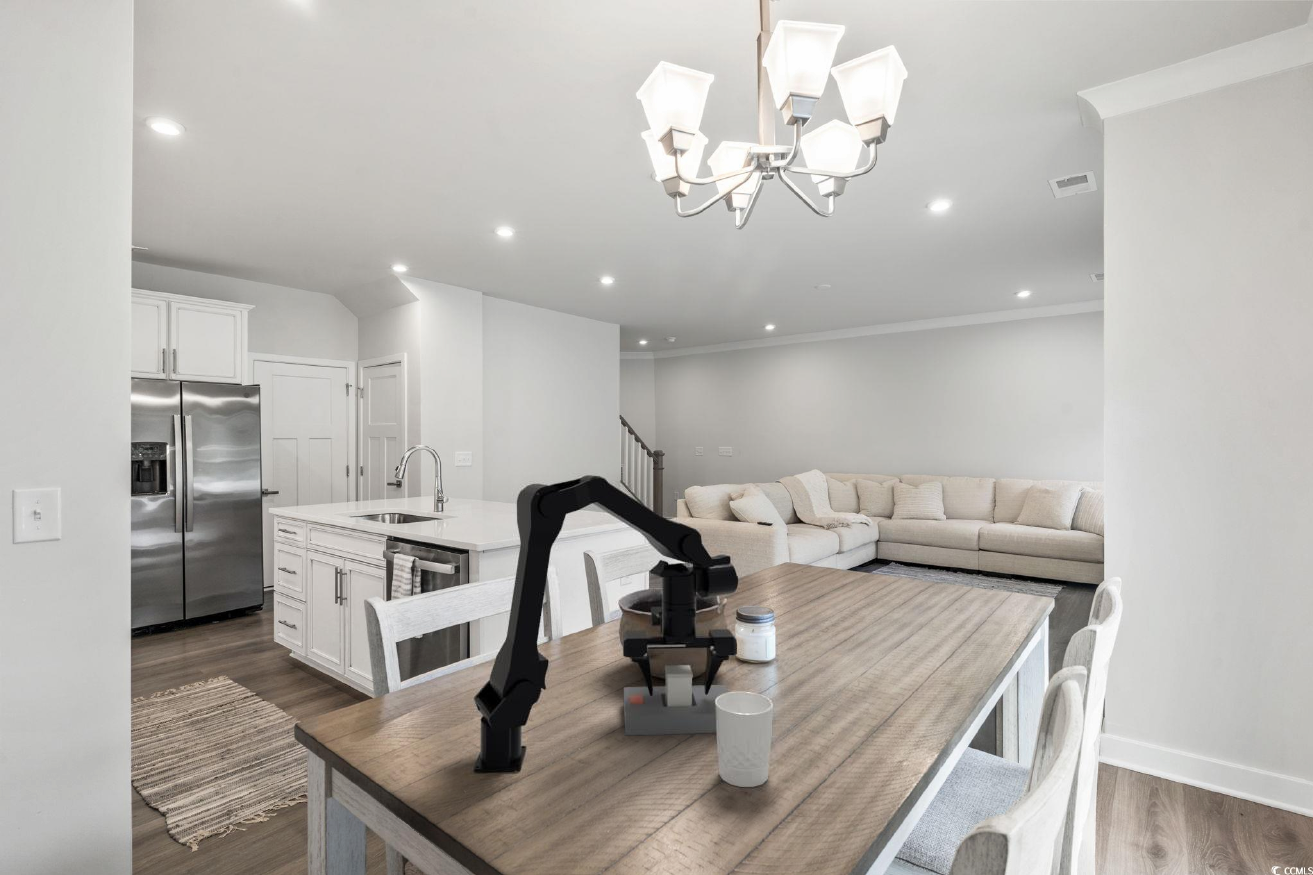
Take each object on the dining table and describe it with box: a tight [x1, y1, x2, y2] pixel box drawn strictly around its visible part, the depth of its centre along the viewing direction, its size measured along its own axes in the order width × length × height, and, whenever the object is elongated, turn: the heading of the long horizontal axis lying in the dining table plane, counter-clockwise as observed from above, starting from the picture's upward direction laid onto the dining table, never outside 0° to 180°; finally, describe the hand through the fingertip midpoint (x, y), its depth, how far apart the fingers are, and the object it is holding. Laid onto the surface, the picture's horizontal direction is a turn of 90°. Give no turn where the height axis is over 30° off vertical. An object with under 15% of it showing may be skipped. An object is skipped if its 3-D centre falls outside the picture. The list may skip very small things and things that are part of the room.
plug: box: [665, 665, 694, 707], centre depth 107 cm, size 4×4×8 cm
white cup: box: [715, 691, 774, 788], centre depth 88 cm, size 8×8×10 cm
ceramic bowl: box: [618, 587, 728, 680], centre depth 128 cm, size 22×22×15 cm
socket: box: [623, 684, 730, 736], centre depth 106 cm, size 12×18×3 cm, turn 94°
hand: (678, 694), depth 107 cm, fingers open, 9 cm apart
